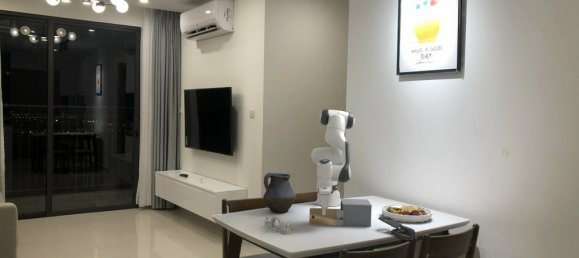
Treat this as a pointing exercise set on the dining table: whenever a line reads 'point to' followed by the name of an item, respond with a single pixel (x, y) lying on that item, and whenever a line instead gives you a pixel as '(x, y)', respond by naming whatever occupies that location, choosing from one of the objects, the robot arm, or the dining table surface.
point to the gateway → (281, 224)
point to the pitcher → (278, 192)
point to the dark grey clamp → (400, 229)
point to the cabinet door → (323, 216)
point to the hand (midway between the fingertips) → (323, 212)
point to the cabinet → (354, 212)
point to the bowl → (407, 213)
